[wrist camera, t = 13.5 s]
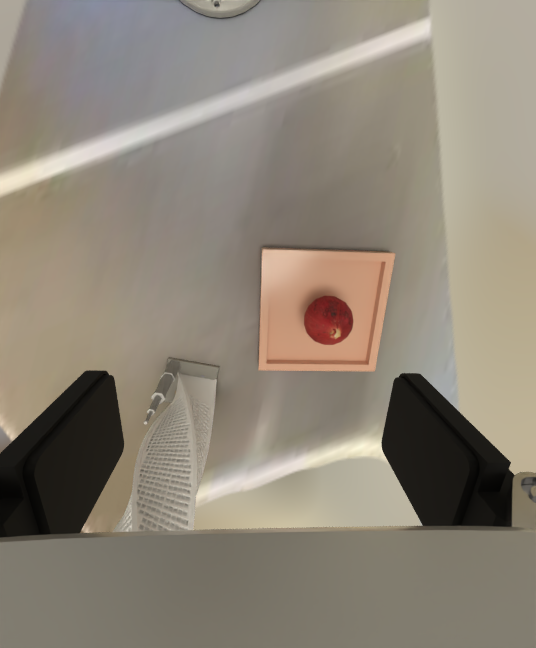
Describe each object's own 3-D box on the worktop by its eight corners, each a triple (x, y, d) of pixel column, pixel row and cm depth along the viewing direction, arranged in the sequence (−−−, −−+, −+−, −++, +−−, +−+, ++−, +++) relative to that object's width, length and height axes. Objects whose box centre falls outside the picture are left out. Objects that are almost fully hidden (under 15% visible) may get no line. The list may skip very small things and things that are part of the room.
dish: (261, 247, 38) (262, 249, 36) (388, 251, 39) (395, 253, 37) (258, 363, 44) (258, 370, 42) (369, 364, 45) (374, 371, 43)
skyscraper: (229, 368, 44) (194, 606, 17) (219, 415, 46) (176, 683, 20) (168, 357, 43) (35, 592, 16) (162, 406, 45) (39, 676, 19)
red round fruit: (301, 288, 39) (313, 307, 32) (346, 290, 40) (368, 308, 32) (298, 331, 41) (308, 358, 34) (340, 332, 42) (359, 359, 34)
